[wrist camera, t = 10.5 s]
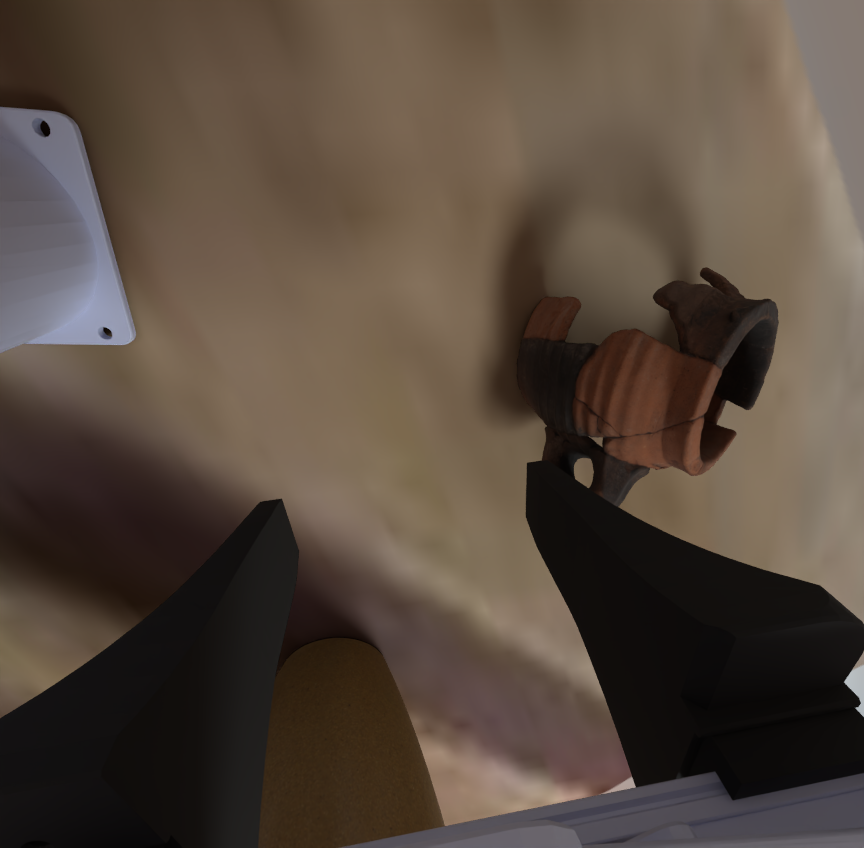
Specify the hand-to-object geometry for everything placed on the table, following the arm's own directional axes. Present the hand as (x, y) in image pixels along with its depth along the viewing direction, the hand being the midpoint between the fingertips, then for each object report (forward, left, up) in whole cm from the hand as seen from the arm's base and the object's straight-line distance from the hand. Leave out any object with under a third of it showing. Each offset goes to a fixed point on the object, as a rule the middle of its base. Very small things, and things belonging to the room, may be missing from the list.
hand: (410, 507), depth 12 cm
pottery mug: (+10, +1, -10) cm, 14 cm away
